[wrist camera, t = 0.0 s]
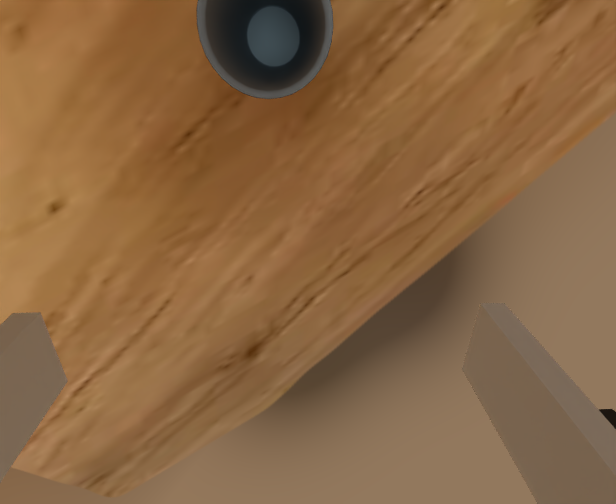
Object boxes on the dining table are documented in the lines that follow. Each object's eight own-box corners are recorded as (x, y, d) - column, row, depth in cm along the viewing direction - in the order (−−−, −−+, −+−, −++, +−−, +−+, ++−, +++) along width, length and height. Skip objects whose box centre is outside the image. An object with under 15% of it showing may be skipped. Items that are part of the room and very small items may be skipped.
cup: (321, 0, 31) (348, -39, 18) (304, 88, 34) (317, 111, 21) (238, -21, 30) (202, -80, 17) (229, 71, 33) (191, 83, 20)
